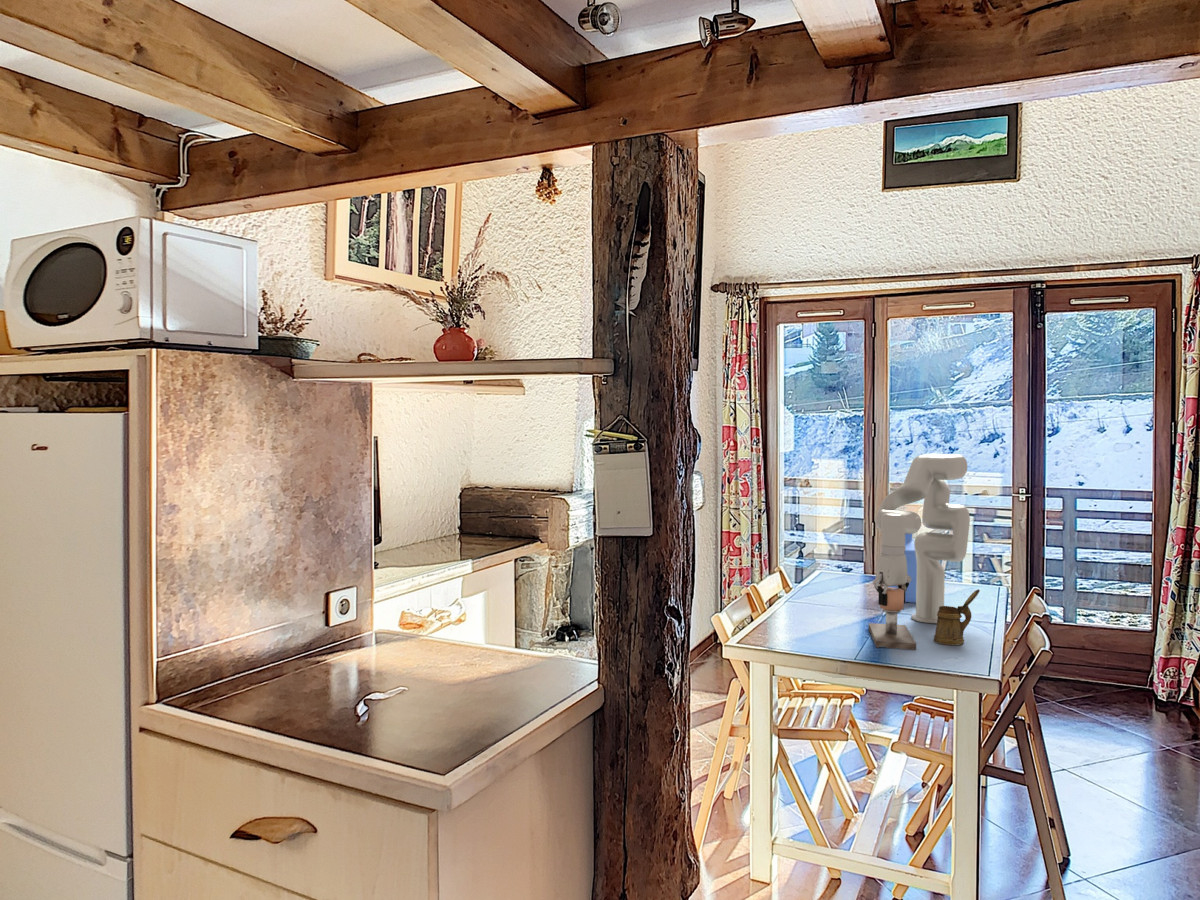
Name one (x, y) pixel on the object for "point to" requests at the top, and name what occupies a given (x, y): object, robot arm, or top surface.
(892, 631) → the threaded post
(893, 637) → the base board
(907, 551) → the water jug
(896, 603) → the cap
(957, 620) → the wooden mug
